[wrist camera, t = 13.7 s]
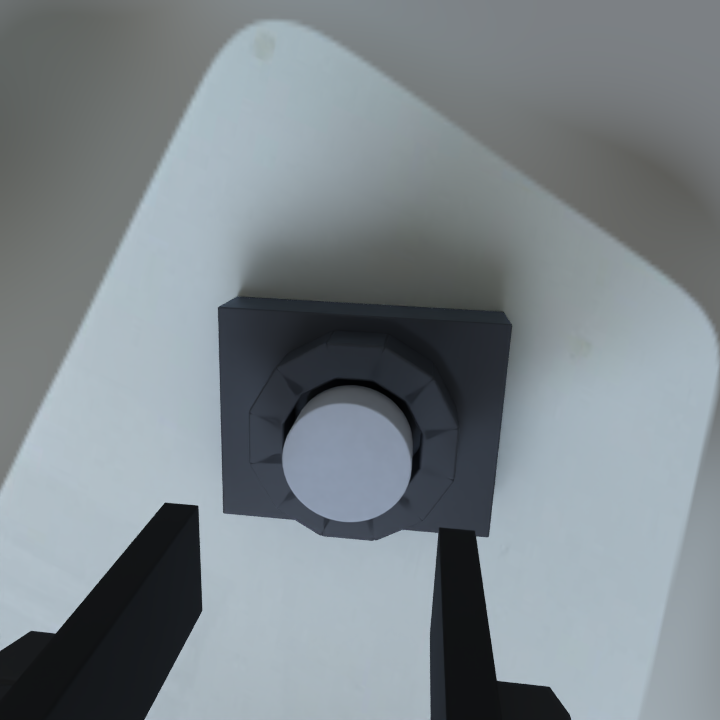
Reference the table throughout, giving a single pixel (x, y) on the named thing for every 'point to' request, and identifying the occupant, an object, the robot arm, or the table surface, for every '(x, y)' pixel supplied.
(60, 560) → the table surface
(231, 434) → the button housing
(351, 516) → the flush button
